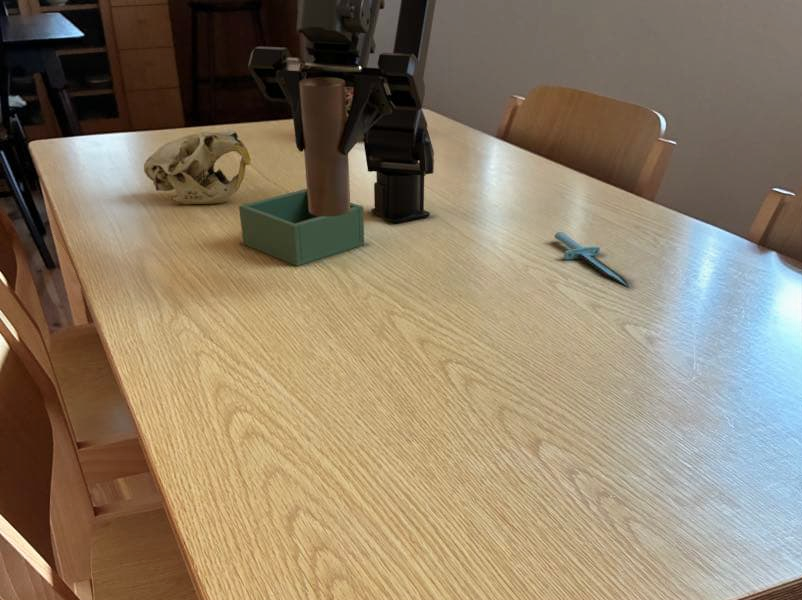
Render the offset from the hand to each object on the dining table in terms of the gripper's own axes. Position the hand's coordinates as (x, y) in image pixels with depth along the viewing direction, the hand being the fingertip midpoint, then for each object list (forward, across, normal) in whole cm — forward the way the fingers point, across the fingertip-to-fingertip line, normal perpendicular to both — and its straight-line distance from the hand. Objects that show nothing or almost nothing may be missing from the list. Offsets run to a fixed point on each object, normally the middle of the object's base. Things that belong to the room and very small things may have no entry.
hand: (321, 151), depth 87 cm
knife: (-1, +29, +23) cm, 37 cm away
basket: (+2, -9, +20) cm, 22 cm away
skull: (-8, -31, +30) cm, 44 cm away
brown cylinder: (+4, 0, +6) cm, 7 cm away
